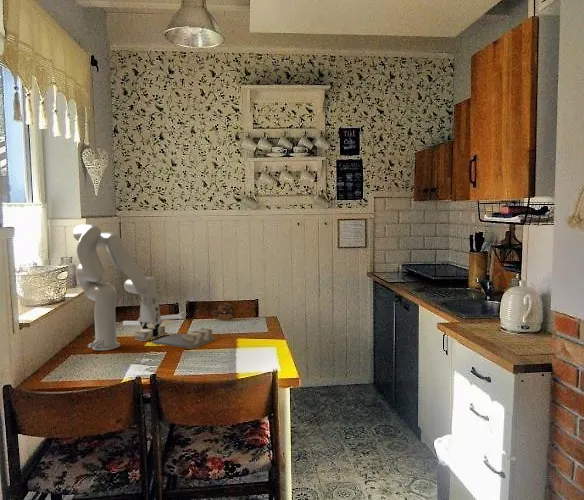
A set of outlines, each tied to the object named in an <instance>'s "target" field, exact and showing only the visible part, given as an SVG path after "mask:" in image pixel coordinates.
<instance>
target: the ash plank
mask: <svg viewBox="0 0 584 500" xmlns="http://www.w3.org/2000/svg"><path fill="white" fill-rule="evenodd" d="M155 326H156V324H155ZM153 329H154V327H153V325H152V326H149V327H148V328H146V329H143V328H141V329H140V330H136V331H134V341H135V340H139V341H138V342H142V341H148V342H150V341H149V340H151V341H153V340H156V339H158V338H157V337H159V338H161V337H160V336H162V337H163V335H165V334H167V335H168V333H167V332H166V325H160V326H159V328H158V335H157V336H153ZM165 336H166V335H165ZM155 338H156V339H155ZM152 339H153V340H152Z"/></svg>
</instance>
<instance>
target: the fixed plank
mask: <svg viewBox="0 0 584 500" xmlns="http://www.w3.org/2000/svg"><path fill="white" fill-rule="evenodd" d="M212 337H213V329H212V328H205V327H201V328H198V329H196V330H194V331H190V332H188V333H185V335H182V338H183V342H186V345H190V346H194V345H196V344H199V343H201V342H203V341H206V340H208V339H211V338H212Z"/></svg>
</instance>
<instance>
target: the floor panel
mask: <svg viewBox="0 0 584 500" xmlns="http://www.w3.org/2000/svg"><path fill="white" fill-rule="evenodd" d="M185 334H186V333H185ZM185 334H184V333H178V332H177V333H176V332H175V333H172V334H169V335H165V336H164V337H163V336H162V337H159V338H157V339H154V340H151V344H152V343H154V344H155V345H160V344H162V346H168V345H171V347H176V346H178V347H177V348H184V347H185V349H186V348H188V349H196V348H198V347H201V346H203V345H206V344H208V343H210V342H212V341H214V340H215V339H216V337H214V336H212V338H211V339H208V340H206V341H203V342H201V343H199V344H196V345H194V346H190V345H186V342H183V338H182V335H185Z"/></svg>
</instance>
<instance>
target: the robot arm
mask: <svg viewBox="0 0 584 500" xmlns="http://www.w3.org/2000/svg"><path fill="white" fill-rule="evenodd" d="M72 233H73V234H72V235H73V237H74V239H75V241H78V243H77V245H76V246H77V247H76V255H77V259H78V260H79V264H78V265H77V267H76V272H75V273H76V277H77V280H78V282H79V285H80V286H81V289H82V290H83V293H84V295H85V296H86V297H87V298H88V299H89V300H92V301H95V302H94V303H95V304H94V308H93V315H94V334H95V335H94V336H95V339H93V342H90V343H88V344H87V348H89V349H90V348H92V350H94V351H98V352H99V351H100V352H101V351H110V350H111V351H112V350H115V349H118V348H119V347H120V346H121V343H120V342H118V340H117V323H116V320H117V319H116V300H117V289H116V288H115V287H114V285H113V284H111V283H109V282H105V281H103V280H104V279H105V276H106V271H105V268H104V265H103V264H102V261H101V259H100V257H99V255H98V251H97V248H98V249H101V250H105V251H106V253H107V254H108V256H109V258H110V260H111V263H112V264H113V266H114V267H115V268H116V269H118V270H119V271H121V272H122V273H124V274H125V275H126V276H127V277H128V278H127V279H126V281H124V283H123V288H124V290H125V291H126V292H128V293H130V294H136V295H140V297H141V300H140V301H141V303H140V307H139V308H140V309H139V317H138V319H137V321H139V323H140V324H141V326H140V327H141V329H146V328H149V327H148V324H152V326H153V327H154V329H153V336H157V335H158V328H159V326H161V325H162V323H163V320H161V319H160V316H161V311H160V305H159V303H158V302H159V301H158V299H157V284H156V283H157V282H156V281H157V280H156V278H155V277H154V276H145V274H144V271H142V269H141V267H140V266H138V264H137V263H136V262H135V261H134V260H133V259H132V257H131V256H130V254H129V252H128V250H127V248H126V246H125V244H124V242H123V240H122V238H121V237H120V235H119V234H118V233H116V232H111V231H108V232H107V231H102V230H101V229H100V227H99V226H98V225H95V224H90V223H89V224H84V223H83V224H78V225H77V226H75V227H74V229H73V232H72ZM155 325H156V326H155Z"/></svg>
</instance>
